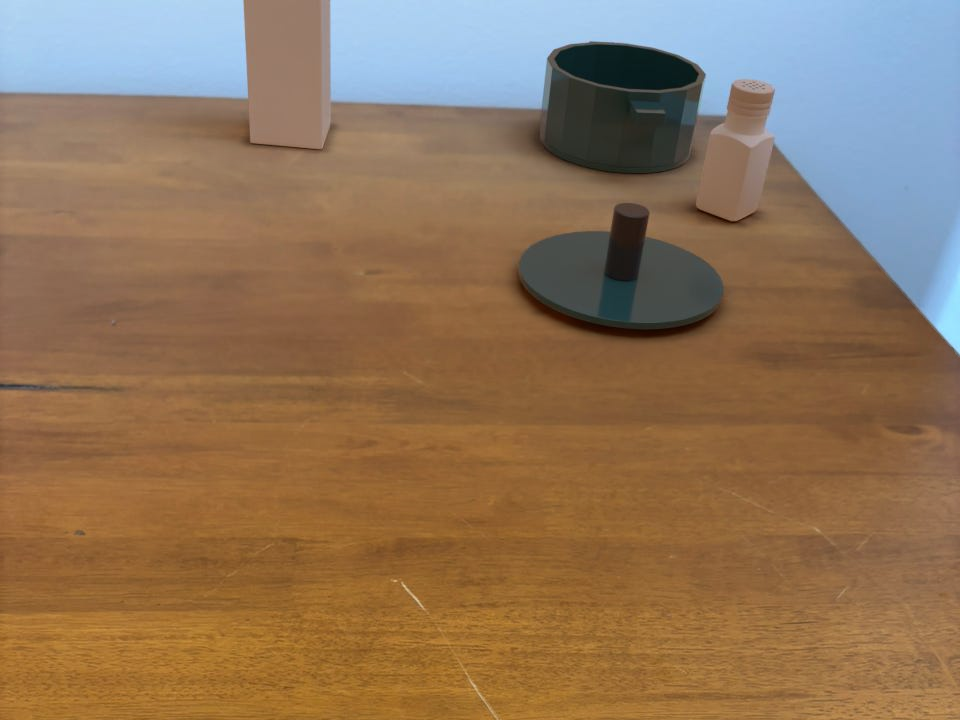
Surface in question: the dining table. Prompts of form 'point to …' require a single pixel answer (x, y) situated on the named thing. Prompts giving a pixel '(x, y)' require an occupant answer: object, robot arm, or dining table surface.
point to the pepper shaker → (738, 153)
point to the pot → (620, 106)
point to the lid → (621, 276)
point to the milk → (288, 71)
